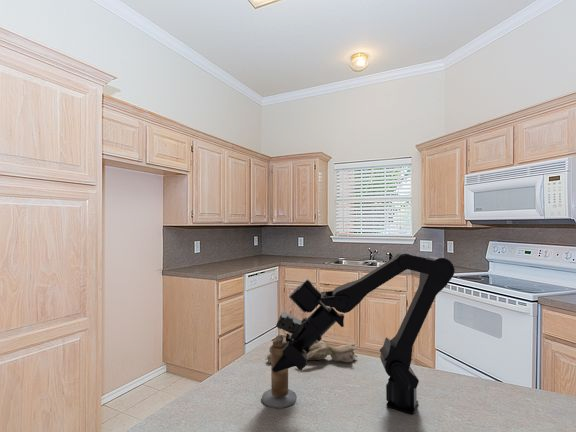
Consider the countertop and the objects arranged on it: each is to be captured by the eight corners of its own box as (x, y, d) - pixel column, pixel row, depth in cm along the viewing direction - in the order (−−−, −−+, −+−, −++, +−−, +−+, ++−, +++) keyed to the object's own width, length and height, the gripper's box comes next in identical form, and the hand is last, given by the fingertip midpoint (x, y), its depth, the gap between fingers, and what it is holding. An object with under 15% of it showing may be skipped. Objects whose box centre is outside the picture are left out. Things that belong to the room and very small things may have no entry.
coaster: (302, 395, 87) (302, 393, 87) (284, 412, 80) (284, 409, 80) (274, 387, 92) (274, 384, 92) (255, 401, 85) (255, 399, 85)
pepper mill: (290, 389, 87) (289, 333, 88) (285, 397, 83) (285, 338, 84) (274, 387, 89) (274, 331, 89) (269, 395, 84) (268, 336, 85)
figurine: (267, 375, 104) (362, 369, 103) (265, 355, 105) (360, 348, 103) (272, 356, 121) (353, 350, 120) (270, 338, 121) (352, 332, 120)
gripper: (296, 295, 96) (259, 332, 96) (291, 311, 77) (245, 358, 78) (324, 323, 95) (286, 360, 95) (325, 346, 76) (278, 393, 77)
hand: (274, 366), depth 86 cm, fingers closed on pepper mill, 4 cm apart
